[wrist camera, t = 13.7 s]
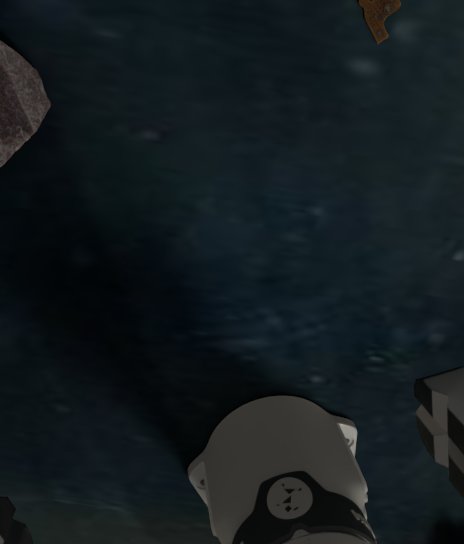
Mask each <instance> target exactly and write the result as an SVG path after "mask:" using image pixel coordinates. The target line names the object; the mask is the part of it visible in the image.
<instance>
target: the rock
mask: <svg viewBox="0 0 464 544" xmlns="http://www.w3.org/2000/svg"><path fill="white" fill-rule="evenodd" d="M50 106H51V103H50V100H49V99H48V98H47V96H46V92H45V90H44V88H43V83H42V80H41V78H40V75H39V73H38V71H37V70H36V69H35V68H33V67H32V66H31V65H30V64H29V63H28V62H27V61H26V60H25V59H24V58H23V57H22V56H21V55H20V54H18V53H17V52H16V51H14V50H13V49H12V48H10V47H9V46H8V45H6V44H5V43H3V42H2V41H1V40H0V167H1V166H3V165H4V164H5V163H6V161H7V160H8V159H9V158H10V157H11V156H12V155H13V153H14V152H16V151H17V150H18V149H19V148H20V147H21V146H22V145H23V144H24V143H25V142H26V141H27V140H29V138H30V137H31V135H33V134H34V133H35V132H36V131H37V130H38V127H39V126H40V124H41V121H42V120H43V119H44V117H45V115H46V113H47V111H48V110H49V108H50Z"/></svg>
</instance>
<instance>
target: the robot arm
mask: <svg viewBox="0 0 464 544" xmlns="http://www.w3.org/2000/svg"><path fill="white" fill-rule="evenodd" d="M414 396H415V397H416V398H417V399H418V401H419V402H420V403H421V405H420V407H419V409H418V410H417V412H416V421H417V428H418V431H419V433H420V436H421V439H422V441H423V443H424V445H425V447H426V449H427V451H428V452H429V453H430V455H431V456H432V458H433V459H434V460H435V461H436V462H438V463H440V464H442V465H444V466H446V467H448V468H449V481H450V482H451V483H452V485H453V486H454V487H455V489H456V490H457V491H458V493H459V494H460V495H461V497H462V498H463V499H464V366H460V367H457V368H454V369H450V370H447V371H443V372H440V373H436V374H433V375H429V376H426V377H423V378H419V379H416V381H415V384H414ZM356 440H357V429H356V427H355V425H354V423H353V422H352V421H351V420H349V419H346V418H343V417H338V416H333V415H331V414H329V413H327V412H326V411H325V410H323V409H322V408H321V407H319V406H318V405H316V404H315V403H313V402H311V401H308V400H306V399H303V398H299V397H294V396H271V397H265V398H261V399H257V400H254V401H252V402H249V403H247V404H245V405H243V406H241V407H239V408H237V409H236V410H234V411H233V412H231V413H230V414H229V415H228V416H226V417H225V418H224V419H223V420H222V421H221V422H220V423H219V425H218V426H217V427H216V429H215V430H214V432H213V433H212V435H211V437H210V439H209V442H208V444H207V446H206V448H205V450H204V451H203V452H202V453H201V454H200V455H199V456H198V457H197V458H196V459H195V460H194V461H193V462H192V463H191V464H190V465H189V467H188V476H189V480H190V482H191V483H192V485H193V486H194V488H195V489H196V490H197V492H198V493H199V495H200V496H201V498H202V499H203V500H204V502H205V503H206V505H207V506H208V510H209V516H210V523H211V529H212V533H213V535H214V536H217V537H218V538H219V540H220V542H221V543H222V544H376V543H377V542H376V539H375V536H374V533H373V531H372V529H371V527H370V525H369V524H368V522H367V521H366V520H367V514H366V509H365V506H364V504H365V503H366V502H367V501H368V499H367V494H366V492H367V491H368V489H367V485H366V482H365V480H364V478H363V475H362V473H361V471H360V469H359V466H358V464H357V462H356V460H355V449H356ZM203 479H204V480H203ZM15 509H16V508H15V507H14V505H13V504H12V502H11V501H10V500H9V498H8V497H0V544H33V540H32V536H31V533H30V531H29V530H28V528H27V526H26V524H23V523H21V522H19V521H17V520H14V519H13V516H14V513H15Z"/></svg>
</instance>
